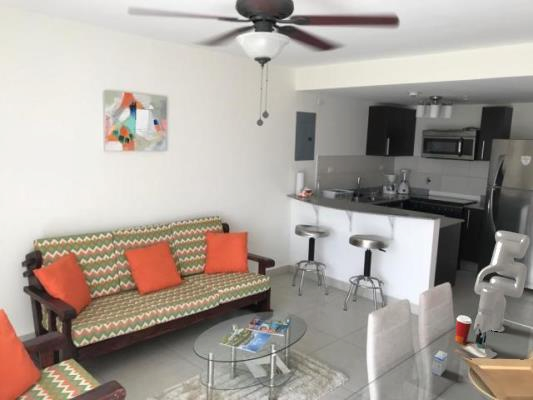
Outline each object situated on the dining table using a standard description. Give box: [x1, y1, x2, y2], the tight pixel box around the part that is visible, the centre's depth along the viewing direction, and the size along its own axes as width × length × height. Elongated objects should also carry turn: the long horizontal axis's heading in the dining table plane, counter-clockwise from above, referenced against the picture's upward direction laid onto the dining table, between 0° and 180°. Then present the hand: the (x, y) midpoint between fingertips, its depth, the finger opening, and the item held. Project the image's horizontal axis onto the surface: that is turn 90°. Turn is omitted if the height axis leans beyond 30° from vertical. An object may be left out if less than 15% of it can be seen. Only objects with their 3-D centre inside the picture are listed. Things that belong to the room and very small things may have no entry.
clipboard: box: [454, 341, 492, 359], centre depth 229 cm, size 18×14×2 cm
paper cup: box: [454, 315, 473, 345], centre depth 240 cm, size 8×8×14 cm
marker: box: [477, 330, 485, 348], centre depth 233 cm, size 3×3×12 cm
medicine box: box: [430, 350, 449, 377], centre depth 209 cm, size 8×4×9 cm, turn 141°
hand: (480, 342), depth 234 cm, fingers closed on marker, 2 cm apart
